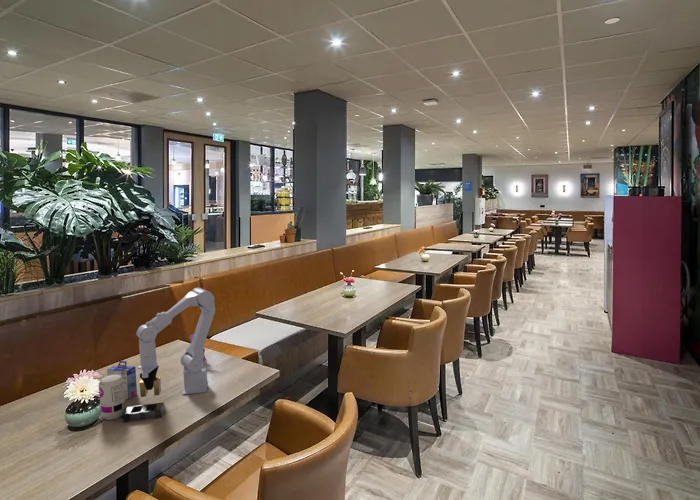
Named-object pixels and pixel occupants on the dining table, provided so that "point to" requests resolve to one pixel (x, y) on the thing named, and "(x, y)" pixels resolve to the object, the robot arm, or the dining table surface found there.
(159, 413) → the rail
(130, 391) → the ink cartridge box
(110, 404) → the supplement can
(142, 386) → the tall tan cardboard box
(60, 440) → the dining table surface
